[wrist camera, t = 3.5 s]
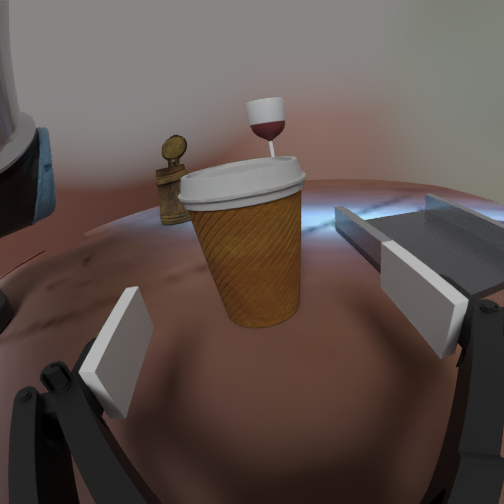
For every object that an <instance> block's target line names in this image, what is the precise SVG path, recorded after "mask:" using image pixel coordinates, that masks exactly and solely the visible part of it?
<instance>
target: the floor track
mask: <svg viewBox="0 0 504 504" xmlns="http://www.w3.org/2000/svg"><path fill="white" fill-rule="evenodd" d="M334 208H335V220H336V231H337V232H338V233H339V234H340V235H342V236H343V237H344V238H345V239H346V240H347V241H348V242H349V243H350V244H351V245H352V246H353V247H354V248H355V249H356V250H357V251H358V252H359V253H360V254H361V255H362V256H364V257H365V258H366V259H367V260H368V261H369V262H370V263H371V264H372V265H373V266H374V267H375V268H376V269H377V270H378V271H379V272H380V273H381V243H382V242H387V241H392V240H393V241H394V242H396V243H397V244H399V245H400V246H401V247H403V248H404V249H405V250H407V251H408V252H409V253H411V254H412V255H413V256H415V257H416V258H417V259H419V260H420V261H421V262H423V263H424V264H425V265H426V266H428V267H429V268H430V269H432V270H433V271H434V272H435V273H437V274H438V275H439V274H442V275H445V276H447V277H450V278H451V279H452V280H454V281H455V282H456V283H457V284H459V285H460V286H461V287H462V288H464V289H465V290H466V291H467V292H469V293H470V294H471V295H472V296H473V297H475V298H476V299H477V300H479V299H481V298H483V297H486V296H488V295H491V294H493V293H495V292H498V291H500V290H502V289H504V224H502V223H500V222H498V221H496V220H493V219H491V218H489V217H487V216H485V215H482V214H480V213H478V212H475V211H473V210H471V209H468V208H466V207H464V206H461V205H459V204H456V203H454V202H451V201H449V200H446V199H444V198H441V197H439V196H436V195H433V194H425V210H424V211H417V212H411V213H405V214H399V215H393V216H387V217H381V218H375V219H369V220H363V219H361V218H360V217H359V216H357V215H356V214H354V213H353V212H351V211H350V210H348V209H346V208H345V207H343V206H340V207H334Z"/></svg>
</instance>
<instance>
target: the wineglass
mask: <svg viewBox="0 0 504 504" xmlns="http://www.w3.org/2000/svg"><path fill="white" fill-rule="evenodd" d="M244 106H245V111H246V114H247V118H248V121H249V124H250V127H251V128H252V131H253V132H254V133H255V134H256V135H257V136H259V137H261V138H264V139H266V140H268V141H269V146H270V152H271V157H275V155H274V149H273V142H272V140H273V139H274V138H275V137H277V136H278V135H279V134H280V133H281V132H282V131H283V129H284V126H285V106H284V99H283V98H280V97H278V98H267V99H260V100H255V101H251V102H247V103H245V104H244Z"/></svg>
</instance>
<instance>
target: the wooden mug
mask: <svg viewBox="0 0 504 504" xmlns="http://www.w3.org/2000/svg"><path fill="white" fill-rule="evenodd" d="M186 149H187V142H186V140H185V138H183V137H182V136H178V135H173V136H172V137H170V138H169V139H168V140H167V141H166V142H165V143H164V144H163V146H162V156H163V158H165V159H166V160H168V168H163V169H159V170H156V185H157V186H158V194H159V203H160V212H161V214H160V218H161V222H162V224H164V225H172V224H178V223H182V222H186V221H189V220H191V218H190V215H189V213H188V210H187V209H186V208H184V206H183V202H181V201H179V199H178V195H179V194H180V193H181V178H182V177H183V176H185V175H187V174H188V172H187V170H186V169H185V166H184V164H181V165H179V159H180V157H182V156H183V154H184V152H185V151H186Z"/></svg>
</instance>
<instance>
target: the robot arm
mask: <svg viewBox="0 0 504 504" xmlns="http://www.w3.org/2000/svg"><path fill="white" fill-rule="evenodd" d="M55 208H56V192H55V184H54V175H53V169H52V160H51V149H50V140H49V133H48V129H47V128H39V127H38V128H37V129H36V126H35V122H34V120H33V118H32V117H31V116H30V115H28V114H26V113H23V112H20V111H19V106H18V101H17V95H16V89H15V83H14V76H13V69H12V60H11V50H10V36H9V0H0V238H2V237H4V236H7V235H9V234H11V233H14V232H16V231H18V230H21V229H23V228H26V227H28V226H32V225H34V224H35V223H36V222H38V221H39V220H42V219H44V218H46V217H48V216H50V215H51V214H52V213H53V212H54V210H55ZM380 288H381V289H382V290H383V291H384V292H385V293H386V294H387V295H388V297H389V298H390V299H391V300H392V301H393V302H394V303H395V305H396V306H397V307H398V308H399V309H400V310H401V312H402V313H403V314H404V315H405V316H406V317H407V319H408V320H409V321H410V322H411V323H412V325H413V326H414V327H415V328H416V329H417V331H418V332H419V333H420V334H421V335H422V337H423V338H424V339H425V340H426V341H427V343H428V344H429V345H430V346H431V348H432V349H433V350H434V351H435V353H436V354H437V355H438V356H439V358H440V359H444V358H446V357H448V356H451V355H453V354H454V353H455V350H456V347H457V343H458V344H459V345H460V346H461V347H462V351H461V354H460V357H459V360H458V363H457V365H456V367H459V369H458V376H457V382H456V388H455V394H454V399H453V404H452V409H451V414H450V418H449V422H448V426H447V430H446V434H445V438H444V442H443V445H442V449H441V452H440V456H439V459H438V462H437V465H436V468H435V471H434V474H433V477H432V480H431V482H430V485H429V487H428V490H427V492H426V493H425V495H424V497H423V498H422V500H421V502H420V504H498V502H499V498H500V494H501V490H502V485H503V480H504V458H502V457H501V456H500V451H501V444H502V436H503V427H504V307H500V306H499V305H498V304H497V303H495V302H493V301H491V300H487V299H482V300H477V299H476V298H475V297H473V296H472V295H471V294H470V293H469V292H467V291H466V290H465V289H464V288H462V287H461V286H460V285H459V284H457V283H456V282H455V281H454V280H452V279H451V278H450V277H447V276H445V275H442V274H439V275H438V274H437V273H435V272H434V271H433V270H432V269H430V268H429V267H428V266H426V265H425V264H424V263H423V262H421V261H420V260H419V259H417V258H416V257H415V256H413V255H412V254H411V253H409V252H408V251H407V250H405V249H404V248H403V247H401V246H400V245H399V244H397V243H396V242H394V241H393V240H392V241H387V242H382V243H381V277H380ZM12 314H13V310H12V307H11V305H10V303H9V301H8V299H7V297H6V295H5V294H4V293H3V292H2V291H1V289H0V332H1V331H2V330H3V329H4V328H5V326H6V325H7V324H8V322H9V321H10V319H11V317H12ZM153 330H154V326H153V324H152V321H151V319H150V316H149V313H148V311H147V308H146V305H145V303H144V300H143V297H142V295H141V292H140V289H139V286H137V287H131V288H126V289H125V291H124V292H123V294H122V296H121V297H120V299H119V301H118V302H117V304H116V306H115V307H114V309H113V311H112V312H111V314H110V316H109V318H108V319H107V321H106V323H105V324H104V326H103V328H102V330H101V331H100V333H99V335H98V337H97V338H93V339H92V340H91V341H90V342H89V343H88V344H87V345H86V346H85V348H84V350H83V351H82V354H81V355H80V357H79V359H78V360H77V362H76V364H75V366H74V368H73V369H72V371H71V372H70V371H69V369H68V367H67V366H66V364H65V363H64V362H61V361H58V362H53V363H51V364H49V365H48V366H46V367H45V368H44V369H43V370H42V372H41V374H40V380H41V381H42V383H43V384H44V386H45V387H46V389H47V390H48V391H49V392H48V393H43V394H39V393H38V391H37V390H36V389H35V388H34V387H31V386H29V387H25V388H23V389H21V390H20V391H19V392H18V393H17V395H16V396H15V399H14V405H13V412H12V421H11V431H10V444H9V470H8V479H9V504H80V503H79V498H78V494H77V489H76V483H75V478H74V472H73V466H72V459H71V453H72V456H73V458H74V460H75V463H76V465H77V467H78V469H79V471H80V473H81V476H82V478H83V480H84V482H85V484H86V486H87V488H88V490H89V492H90V493H91V495H92V497H93V499H94V501H95V503H96V504H162V503H161V502H160V501H159V499H158V498H157V497H156V496H155V494H154V493H153V492H152V491H151V489H150V488H149V487H148V485H147V484H146V483H145V481H144V480H143V479H142V477H141V476H140V475H139V473H138V472H137V471H136V469H135V468H134V466H133V465H132V463H131V462H130V461H129V459H128V458H127V456H126V455H125V453H124V452H123V450H122V448H121V447H120V445H119V444H118V442H117V441H116V439H115V437H114V436H113V434H112V432H111V431H110V429H109V427H108V426H107V424H106V422H105V421H104V420H103V418H102V414H103V411H105V412H106V414H107V415H108V416H109V418H110V419H126V416H127V413H128V409H129V406H130V402H131V399H132V396H133V392H134V389H135V386H136V382H137V379H138V376H139V373H140V370H141V367H142V363H143V360H144V357H145V354H146V351H147V348H148V345H149V342H150V339H151V336H152V333H153Z"/></svg>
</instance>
